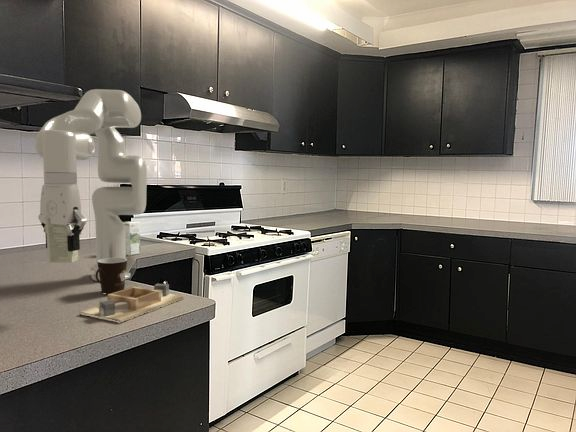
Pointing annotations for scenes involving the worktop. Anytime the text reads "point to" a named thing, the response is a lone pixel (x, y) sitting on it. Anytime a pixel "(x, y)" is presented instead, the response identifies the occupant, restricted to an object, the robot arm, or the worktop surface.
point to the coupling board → (133, 302)
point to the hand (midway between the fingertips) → (62, 248)
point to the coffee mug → (111, 274)
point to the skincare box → (58, 244)
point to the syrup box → (132, 237)
